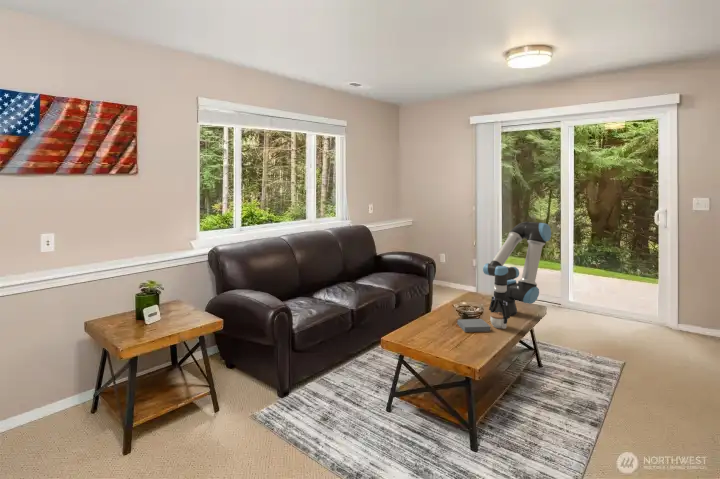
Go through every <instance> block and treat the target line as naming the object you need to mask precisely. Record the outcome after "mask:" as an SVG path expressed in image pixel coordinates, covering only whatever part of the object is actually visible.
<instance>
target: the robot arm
mask: <svg viewBox="0 0 720 479" xmlns="http://www.w3.org/2000/svg"><path fill="white" fill-rule="evenodd" d="M507 235H508V236H507V238H506V239H505V241H504V243H503V244H502V246H501V247H500V249H499V250H498V251H497V253H496V254H495V256H494V257H493V259H492V260H491V262H490V263H489V262H487V263H485V264H484V265H483V267H482V272H483V274H484V275H487V276H490V277H494V286H493V287H494V288H493V290H494V291H493V296H491V300H490V305H489V308H488V310H489V311H490V314H491V313H493V312H501V313H502V314H503V318H502V328H501V329H507V328H508V327H507V324H508V321H507V319H508V320H509V319H511V316H516V315H517V314H518V308H517V304H516V301H517V302H520V303H524V304H530V305H531V304H533V303H535V302H536V301H537V299H538V297H539V294H540V289H539V287H537V286H538V283H537V282H536V279H537V275H538V271H539V270H538V268H539V264H540V259H541V254H542V250H543V247H544V246H545V245H546V243H547V242H549V241H550V239H551V237H552V229H551V226H550V224H548V223H545V222H535V221H522V222H520V223H517V225H515V226H514V227H512V229H511V230H510V231H509V233H508V234H507ZM524 239H525V240H526V242H527V244H528V247H527V251H526V256H525V260H524V264H523V269H522V274H521V278H520V279H519V280H516V279H517V278H518V277H519V276H520V271H519V269H518V268H517V267H516V266H510V267H509V266H505V265H504V264H505V263H506V262H507V260H508V259H509V257H510V256H511V254H512V253H513V251H514V250H515V248H516V247H517V245H518V244H519V243H521V242H522V241H523V240H524ZM517 281H518V282H517Z"/></svg>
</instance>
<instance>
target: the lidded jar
mask: <svg viewBox="0 0 720 479" xmlns="http://www.w3.org/2000/svg"><path fill="white" fill-rule="evenodd" d="M502 318H503V314H502V313H501V312H493V313H491V312H490V313H489V319H490V323H491V325H492V327H493V328H495V329H502ZM508 320H509V318H508V319H507V322H508Z"/></svg>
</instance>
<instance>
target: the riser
mask: <svg viewBox="0 0 720 479" xmlns="http://www.w3.org/2000/svg"><path fill="white" fill-rule="evenodd" d="M457 325H458V327H459V328H460V329H461V330H462V331H463V332H464V333H473V332H474V333H476V332H477V333H479V332H482V333H483V332H491V325H489V323H487V322H486V321H485V320H484V319H482V318H468V319H467V318H466V319H457Z"/></svg>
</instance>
